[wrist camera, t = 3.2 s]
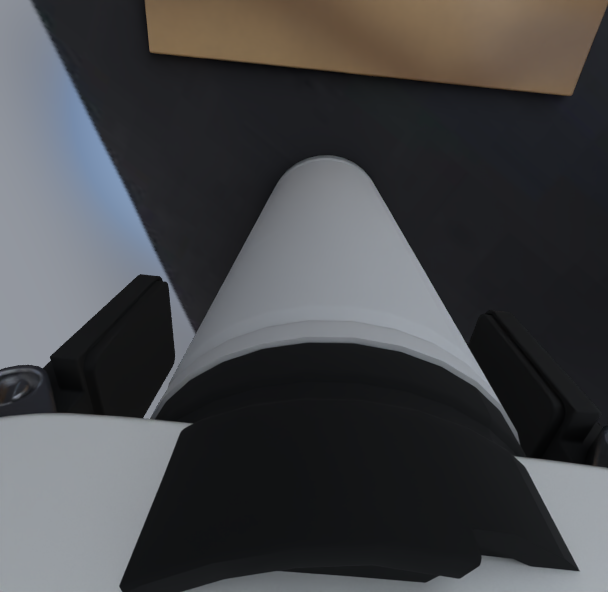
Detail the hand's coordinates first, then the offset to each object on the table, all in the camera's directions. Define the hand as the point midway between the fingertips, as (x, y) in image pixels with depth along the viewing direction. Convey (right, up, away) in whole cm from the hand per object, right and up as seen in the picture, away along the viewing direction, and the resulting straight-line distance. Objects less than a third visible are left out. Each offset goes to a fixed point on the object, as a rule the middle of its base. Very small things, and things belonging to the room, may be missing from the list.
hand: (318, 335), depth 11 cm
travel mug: (+1, +6, +10) cm, 12 cm away
